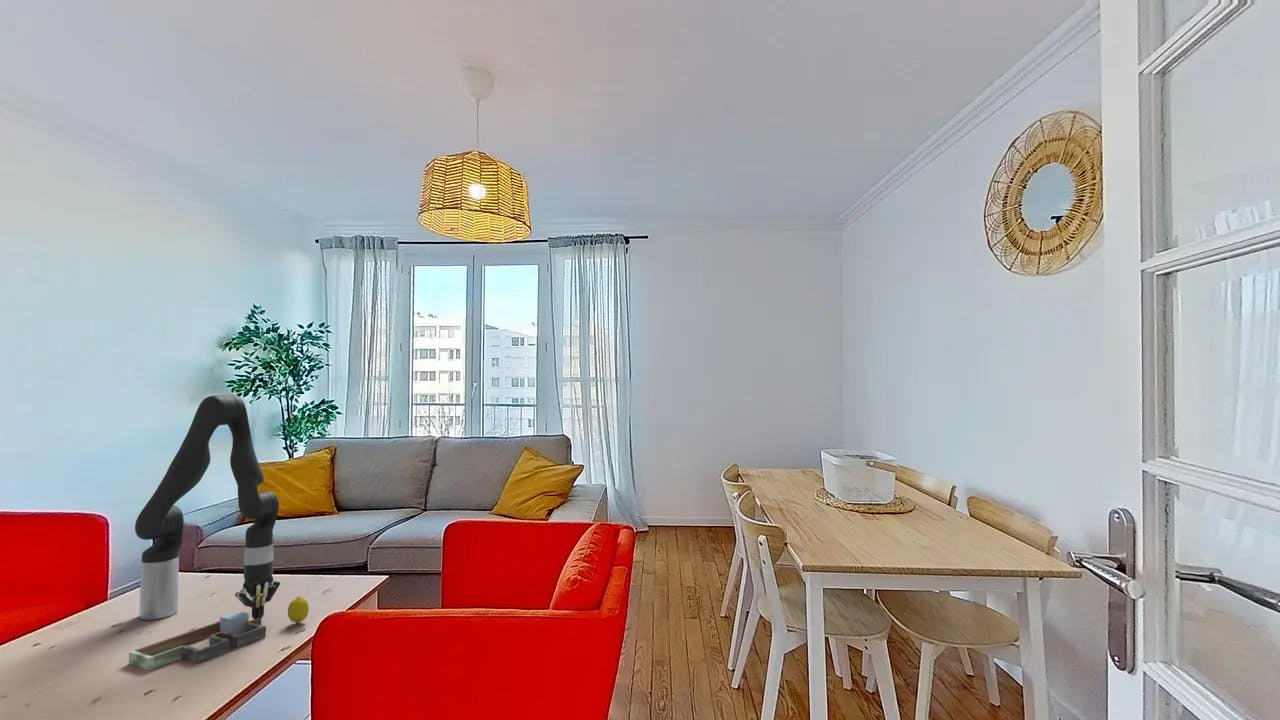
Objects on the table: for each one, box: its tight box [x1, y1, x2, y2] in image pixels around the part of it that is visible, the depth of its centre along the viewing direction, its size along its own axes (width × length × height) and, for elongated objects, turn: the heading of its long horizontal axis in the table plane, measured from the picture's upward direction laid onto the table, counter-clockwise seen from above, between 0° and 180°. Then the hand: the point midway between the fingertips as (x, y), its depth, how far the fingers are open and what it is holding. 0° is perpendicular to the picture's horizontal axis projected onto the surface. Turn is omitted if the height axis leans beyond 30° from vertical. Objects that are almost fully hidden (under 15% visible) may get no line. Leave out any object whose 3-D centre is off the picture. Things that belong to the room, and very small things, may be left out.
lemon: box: [287, 596, 310, 625], centre depth 186 cm, size 6×6×8 cm
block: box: [219, 610, 250, 635], centre depth 179 cm, size 5×5×5 cm
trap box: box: [128, 618, 267, 671], centre depth 169 cm, size 16×29×3 cm, turn 156°
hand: (257, 618), depth 185 cm, fingers closed
